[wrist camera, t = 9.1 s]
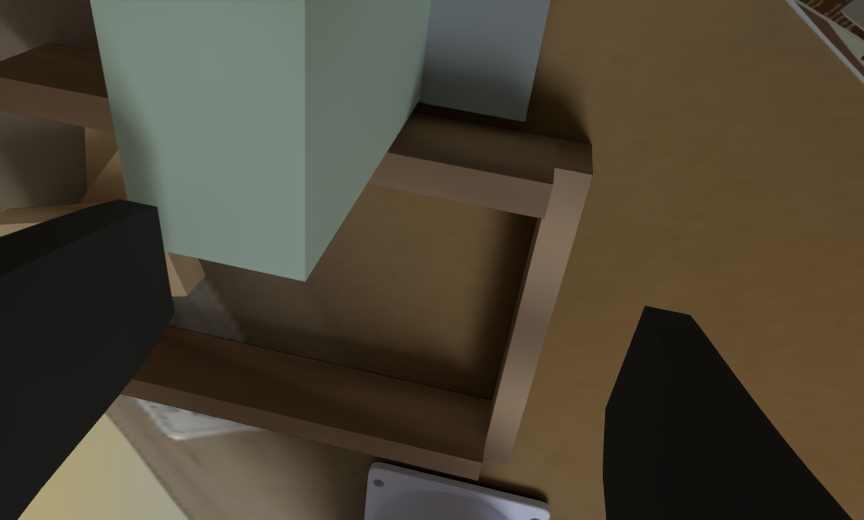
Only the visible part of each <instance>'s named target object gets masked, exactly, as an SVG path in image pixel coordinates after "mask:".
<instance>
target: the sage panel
mask: <svg viewBox="0 0 864 520" xmlns="http://www.w3.org/2000/svg"><path fill="white" fill-rule="evenodd" d="M430 2H431V0H90V3H91V8H92V14H93V19H94V24H95V30H96V35H97V40H98V46H99V51H100V56H101V62H102V67H103V72H104V78H105V83H106V88H107V94H108V99H109V104H110V110H111V115H112V120H113V126H114V131H115V136H116V142H117V147H118V152H119V158H120V163H121V168H122V174H123V179H124V184H125V190H126V195H127V200H128V201H132V202H137V203H142V204H147V205H152V206H157V207H158V214H159V220H160V226H161V232H162V239H163V245H164V251H166V252H171V253H176V254H180V255H185V256H189V257H194V258H199V259H203V260H208V261H212V262H217V263H222V264H226V265H231V266H235V267H240V268H245V269H249V270H254V271H258V272H263V273H268V274H272V275H277V276H281V277H286V278H291V279H295V280H300V281H304V282H305V281H306V280H307V278H308V276H309V275H310V273H311V272H312V270H313V269H314V267H315V265H316V264H317V262H318V261H319V259H320V257H321V256H322V254H323V253H324V251H325V249H326V248H327V246H328V245H329V243H330V242H331V240H332V238H333V237H334V235H335V234H336V232H337V230H338V229H339V227H340V226H341V224H342V222H343V221H344V219H345V218H346V216H347V214H348V213H349V211H350V210H351V208H352V207H353V205H354V203H355V202H356V200H357V199H358V197H359V195H360V194H361V192H362V191H363V189H364V187H365V186H366V184H367V183H368V181H369V180H370V178H371V176H372V175H373V173H374V172H375V170H376V168H377V167H378V165H379V164H380V162H381V160H382V159H383V157H384V156H385V154H386V152H387V151H388V149H389V148H390V146H391V145H392V143H393V141H394V140H395V138H396V137H397V135H398V133H399V132H400V130H401V129H402V127H403V125H404V124H405V122H406V121H407V119H408V118H409V116H410V114H411V113H412V111H413V110H414V108H415V106H416V105H417V103H418V102H419V100H420V95H421V86H422V77H423V67H424V58H425V49H426V39H427V30H428V21H429V12H430Z"/></svg>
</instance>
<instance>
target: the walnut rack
mask: <svg viewBox="0 0 864 520" xmlns="http://www.w3.org/2000/svg"><path fill="white" fill-rule="evenodd" d="M0 110H1V111H6V112H11V113H16V114H21V115H26V116H31V117H36V118H41V119H46V120H51V121H56V122H61V123H66V124H71V125H76V126H81V127H86V128H91V129H96V130H101V131H106V132H111V133H115V131H114V126H113V120H112V115H111V110H110V104H109V99H108V94H107V88H106V83H105V78H104V72H103V67H102V62H101V56H100V53H97V52H92V51H86V50H81V49H76V48H70V47H65V46H60V45H54V44H49V43H48V44H45V45H43V46H40V47H37V48H35V49H32V50H29V51H27V52H24V53H21V54H19V55H16V56H13V57H11V58H8V59H5V60H3V61H0ZM592 176H593V166H592V145H590V144H585V143H579V142H574V141H569V140H563V139H558V138H552V137H547V136H542V135H536V134H531V133H526V132H520V131H515V130H510V129H504V128H499V127H494V126H488V125H483V124H477V123H472V122H467V121H461V120H456V119H451V118H445V117H440V116H435V115H429V114H424V113H419V112H413V111H412V113H411V114H410V116H409V118H408V119H407V121H406V122H405V124H404V125H403V127H402V129H401V130H400V132H399V133H398V135H397V137H396V138H395V140H394V141H393V143H392V145H391V146H390V148H389V149H388V151H387V152H386V154H385V156H384V157H383V159H382V160H381V162H380V164H379V165H378V167H377V168H376V170H375V172H374V173H373V175H372V176H371V178H370V180H369V181H368V183H367V184H372V185H377V186H382V187H387V188H392V189H397V190H402V191H407V192H412V193H417V194H422V195H427V196H432V197H437V198H442V199H447V200H452V201H457V202H462V203H467V204H472V205H477V206H482V207H487V208H492V209H497V210H502V211H507V212H512V213H517V214H522V215H527V216H532V217H537V222H536V226H535V230H534V234H533V238H532V242H531V246H530V250H529V254H528V258H527V262H526V266H525V270H524V274H523V278H522V282H521V286H520V290H519V294H518V299H517V303H516V307H515V311H514V315H513V319H512V323H511V327H510V331H509V335H508V339H507V343H506V347H505V351H504V355H503V359H502V363H501V367H500V371H499V375H498V380H497V384H496V388H495V392H494V396H493V400H488V399H483V398H479V397H475V396H470V395H466V394H461V393H457V392H453V391H448V390H444V389H440V388H435V387H431V386H427V385H422V384H418V383H414V382H409V381H405V380H400V379H396V378H392V377H387V376H383V375H379V374H374V373H370V372H366V371H361V370H357V369H353V368H348V367H344V366H339V365H335V364H331V363H326V362H322V361H318V360H313V359H309V358H305V357H300V356H296V355H292V354H287V353H283V352H278V351H274V350H270V349H265V348H261V347H257V346H252V345H248V344H244V343H239V342H235V341H231V340H226V339H222V338H217V337H213V336H209V335H204V334H200V333H196V332H191V331H187V330H183V329H178V328H174V327H170V326H167V327H166V328H165V330H164V332H163V334H162V335H161V337H160V339H159V340H158V342H157V344H156V345H155V347H154V348H153V350H152V352H151V353H150V355H149V356H148V358H147V359H146V361H145V362H144V364H143V366H142V367H141V368H140V370H139V371H138V372H137V373H136V375H135V376H134V377H133V378H132V380H131V381H130V382H129V383H128V385H127V386H126V387H125V388H124V390H123V391H122V392H121V393H120V394H122V395H127V396H131V397H135V398H139V399H143V400H147V401H151V402H155V403H160V404H164V405H168V406H172V407H176V408H180V409H184V410H188V411H193V412H197V413H201V414H205V415H209V416H213V417H217V418H221V419H226V420H230V421H234V422H238V423H242V424H246V425H250V426H254V427H259V428H263V429H267V430H271V431H275V432H279V433H283V434H287V435H292V436H296V437H300V438H304V439H308V440H312V441H316V442H320V443H325V444H329V445H333V446H337V447H341V448H345V449H349V450H353V451H358V452H362V453H366V454H370V455H374V456H378V457H382V458H386V459H390V460H395V461H399V462H403V463H407V464H411V465H415V466H419V467H423V468H428V469H432V470H436V471H440V472H444V473H448V474H452V475H456V476H461V477H465V478H469V479H473V480H477V481H478V478H479V474H480V470H481V466H482V462H483V459H487V460H491V461H495V462H499V463H503V464H508V463H509V460H510V456H511V453H512V450H513V446H514V443H515V439H516V436H517V432H518V429H519V426H520V422H521V419H522V415H523V412H524V409H525V405H526V402H527V398H528V395H529V391H530V388H531V385H532V381H533V378H534V374H535V371H536V368H537V364H538V361H539V357H540V354H541V350H542V347H543V344H544V340H545V337H546V333H547V330H548V327H549V323H550V320H551V316H552V313H553V309H554V306H555V303H556V299H557V296H558V292H559V289H560V286H561V282H562V279H563V275H564V272H565V268H566V265H567V262H568V258H569V255H570V251H571V248H572V245H573V241H574V238H575V234H576V231H577V227H578V224H579V221H580V217H581V214H582V210H583V207H584V204H585V200H586V197H587V193H588V190H589V186H590V183H591V180H592Z"/></svg>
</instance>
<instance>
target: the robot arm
mask: <svg viewBox="0 0 864 520" xmlns="http://www.w3.org/2000/svg"><path fill="white" fill-rule="evenodd" d="M173 315H174V307H173V301H172V295H171V289H170V282H169V276H168V270H167V264H166V257H165V251H164V245H163V239H162V232H161V226H160V220H159V214H158V207H157V206H152V205H147V204H142V203H137V202H132V201H127V200H122V199H118V200H114V201H109V202H105V203H101V204H98V205H94V206H91V207H88V208H84V209H81V210H78V211H75V212H72V213H69V214H66V215H63V216H60V217H57V218H54V219H51V220H48V221H45V222H42V223H39V224H36V225H33V226H30V227H27V228H24V229H21V230H19V231H16V232H13V233H10V234H7V235H4V236H1V237H0V520H18V518H19V517H20V516H21V514H22V513H23V512H24V510H25V509H26V508H27V506H28V505H29V504H30V502H31V501H32V500H33V499H34V497H35V496H36V495H37V494H38V492H39V491H40V490H41V488H42V487H43V486H44V485H45V484H46V482H47V481H48V480H49V479H50V478H51V476H52V475H53V474H54V473H55V471H56V470H57V469H58V468H59V467H60V466H61V464H62V463H63V462H64V461H65V460H66V458H67V457H68V456H69V455H70V453H71V452H72V451H73V450H74V449H75V447H76V446H77V445H78V444H79V443H80V442H81V440H82V439H83V438H84V437H85V435H86V434H87V433H88V432H89V431H90V430H91V428H92V427H93V426H94V424H96V422H97V421H98V420H99V419H100V418H101V416H102V415H103V414H104V413H105V412H106V410H107V409H108V408H109V407H110V405H111V404H112V403H113V402H114V401H115V399H116V398H117V397H118V396H119V394H120V393H121V392H122V391H123V390H124V388H125V387H126V386H127V385H128V383H129V382H130V381H131V380H132V378H133V377H134V376H135V375H136V373H137V372H138V371H139V370H140V368H141V367H142V366H143V364H144V362H145V361H146V359H147V358H148V356H149V355H150V353H151V352H152V350H153V348H154V347H155V345H156V344H157V342H158V340H159V339H160V337H161V335H162V334H163V332H164V330H165V328H166V327H167V325H168V323H169V322H170V320H171V318H172V317H173ZM603 484H604V497H605V509H606V520H852V519H851V518H850V516H849V515H848V514H847V513H846V512H845V511H844V509H843V508H842V507H841V506H840V505H839V504H838V503H837V501H836V500H835V499H834V498H833V497H832V496H831V494H830V493H829V492H828V491H827V490H826V489H825V488H824V486H823V485H822V484H821V483H820V482H819V481H818V479H817V478H816V477H815V476H814V475H813V474H812V472H811V471H810V470H809V469H808V468H807V467H806V465H805V464H804V463H803V462H802V460H801V459H800V458H799V457H798V456H797V454H796V453H795V452H794V451H793V449H792V448H791V447H790V446H789V445H788V443H787V442H786V441H785V440H784V438H783V437H782V436H781V435H780V433H779V432H778V431H777V430H776V428H775V427H774V426H773V424H772V423H771V422H770V421H769V419H768V418H767V417H766V415H765V414H764V413H763V412H762V410H761V409H760V408H759V406H758V405H757V404H756V402H755V401H754V400H753V398H752V397H751V396H750V394H749V393H748V392H747V391H746V389H745V388H744V387H743V385H742V384H741V382H740V381H739V380H738V378H737V377H736V376H735V374H734V373H733V372H732V370H731V369H730V368H729V366H728V365H727V364H726V362H725V361H724V359H723V358H722V357H721V355H720V354H719V353H718V351H717V350H716V348H715V347H714V346H713V344H712V343H711V342H710V340H709V339H708V338H707V336H706V335H705V333H704V332H703V331H702V329H701V328H700V327H699V325H698V324H697V323H696V322H695V320H694V319H693V318H692V317H691V315H688V314H683V313H678V312H673V311H668V310H663V309H658V308H653V307H648V306H645V307H644V310H643V312H642V315H641V318H640V320H639V323H638V325H637V328H636V331H635V333H634V336H633V338H632V341H631V344H630V346H629V349H628V351H627V354H626V357H625V359H624V362H623V364H622V367H621V370H620V372H619V375H618V377H617V380H616V383H615V385H614V388H613V390H612V393H611V396H610V398H609V401H608V403H607V406H606V409H605V428H604V451H603ZM549 518H550V507H549V505H547V504H546V503H545V502H542V501H539V500H535V499H530V498H526V497H522V496H518V495H514V494H510V493H506V492H502V491H498V490H493V489H489V488H485V487H481V486H477V485H473V484H469V483H465V482H461V481H456V480H452V479H448V478H444V477H440V476H436V475H432V474H428V473H424V472H419V471H415V470H411V469H407V468H403V467H399V466H395V465H391V464H387V463H382V462H376V463H373V464H372V465H371V467H370V470H369V473H368V483H367V494H366V505H365V516H364V520H549Z"/></svg>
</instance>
